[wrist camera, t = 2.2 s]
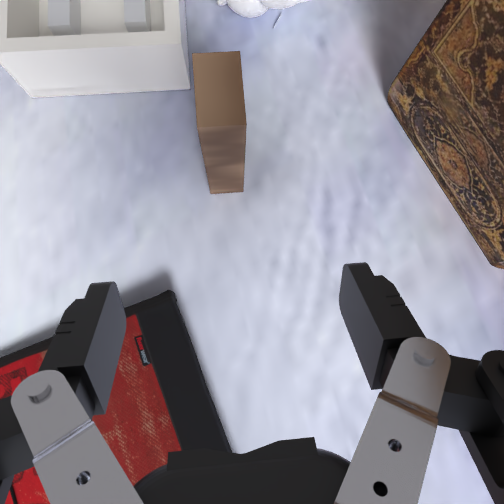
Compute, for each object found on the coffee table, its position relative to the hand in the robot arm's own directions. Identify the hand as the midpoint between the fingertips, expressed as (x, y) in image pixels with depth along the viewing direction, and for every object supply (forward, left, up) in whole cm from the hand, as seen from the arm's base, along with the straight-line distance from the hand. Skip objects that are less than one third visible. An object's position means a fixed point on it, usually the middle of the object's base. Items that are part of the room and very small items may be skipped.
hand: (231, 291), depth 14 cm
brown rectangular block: (-3, +10, -14) cm, 17 cm away
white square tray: (-15, +19, -14) cm, 28 cm away
